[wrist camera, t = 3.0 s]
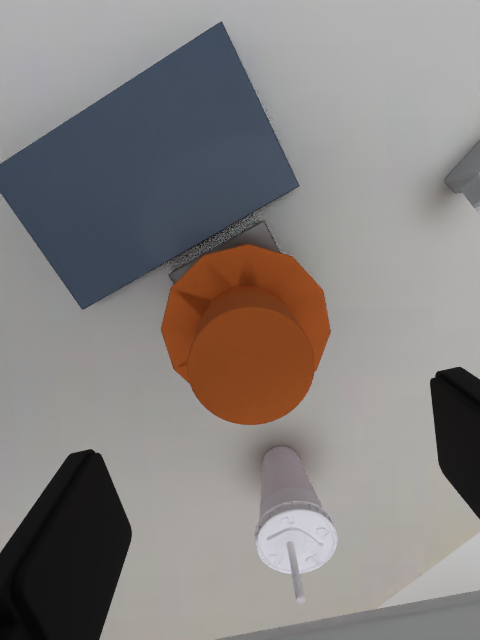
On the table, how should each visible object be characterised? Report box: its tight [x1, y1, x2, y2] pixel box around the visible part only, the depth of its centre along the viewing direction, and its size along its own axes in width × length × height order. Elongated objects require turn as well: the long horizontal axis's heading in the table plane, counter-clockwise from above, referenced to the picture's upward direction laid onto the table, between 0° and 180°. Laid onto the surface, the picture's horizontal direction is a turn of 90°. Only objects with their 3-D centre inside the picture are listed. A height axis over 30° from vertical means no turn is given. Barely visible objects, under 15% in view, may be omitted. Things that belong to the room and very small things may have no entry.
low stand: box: [0, 22, 299, 309], centre depth 28 cm, size 20×12×2 cm, turn 119°
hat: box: [161, 244, 331, 425], centre depth 19 cm, size 10×10×6 cm
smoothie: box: [255, 446, 337, 603], centre depth 30 cm, size 6×6×14 cm
